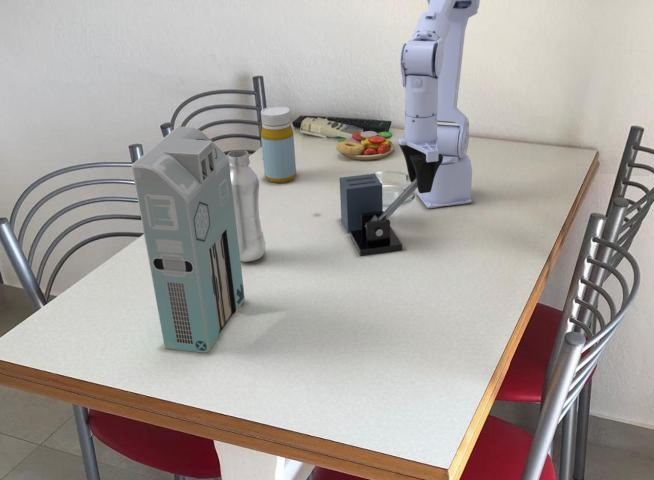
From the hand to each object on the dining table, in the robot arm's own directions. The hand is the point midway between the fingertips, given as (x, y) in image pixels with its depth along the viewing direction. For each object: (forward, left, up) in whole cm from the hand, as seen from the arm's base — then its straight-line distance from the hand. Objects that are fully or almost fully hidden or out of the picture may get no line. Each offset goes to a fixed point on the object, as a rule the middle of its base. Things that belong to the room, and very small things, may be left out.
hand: (420, 186), depth 159 cm
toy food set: (-1, -48, -10) cm, 49 cm away
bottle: (+21, -38, -10) cm, 44 cm away
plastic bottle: (+33, -1, -10) cm, 34 cm away
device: (+43, +21, -10) cm, 49 cm away
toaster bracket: (+9, 0, -10) cm, 13 cm away
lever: (+4, 0, -4) cm, 5 cm away
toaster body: (+9, -9, -10) cm, 16 cm away
